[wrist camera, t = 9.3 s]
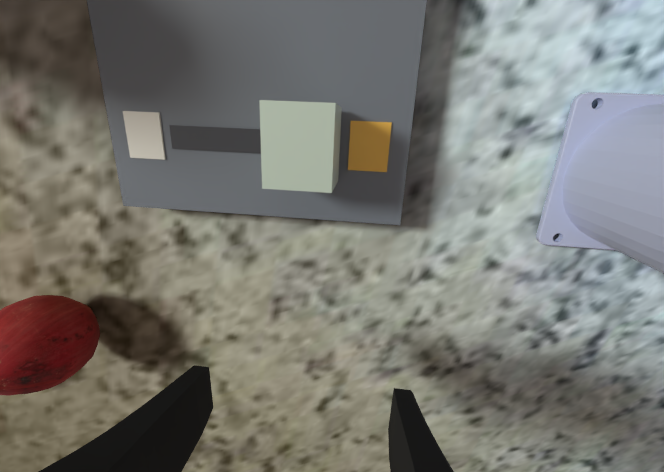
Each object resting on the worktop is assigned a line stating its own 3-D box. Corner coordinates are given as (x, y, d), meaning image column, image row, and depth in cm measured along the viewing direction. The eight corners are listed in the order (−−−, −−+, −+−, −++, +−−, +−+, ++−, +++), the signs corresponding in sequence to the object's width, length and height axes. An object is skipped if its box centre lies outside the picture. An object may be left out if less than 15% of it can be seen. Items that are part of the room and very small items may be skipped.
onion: (132, 295, 23) (18, 377, 15) (119, 353, 25) (11, 451, 17) (57, 263, 23) (-97, 330, 15) (49, 323, 25) (-91, 410, 17)
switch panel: (444, -204, 13) (458, -264, 11) (396, 215, 19) (400, 225, 17) (86, -189, 14) (41, -239, 12) (146, 198, 20) (122, 206, 18)
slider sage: (341, 107, 15) (335, 102, 12) (338, 180, 16) (331, 192, 13) (280, 105, 15) (259, 100, 12) (281, 177, 16) (261, 188, 13)
